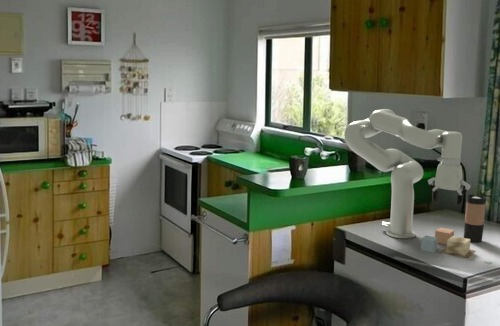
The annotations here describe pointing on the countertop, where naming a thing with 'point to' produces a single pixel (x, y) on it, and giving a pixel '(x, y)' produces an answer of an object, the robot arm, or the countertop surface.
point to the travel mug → (474, 218)
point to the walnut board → (457, 254)
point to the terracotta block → (443, 235)
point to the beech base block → (458, 245)
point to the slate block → (429, 244)
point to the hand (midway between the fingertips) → (447, 202)
